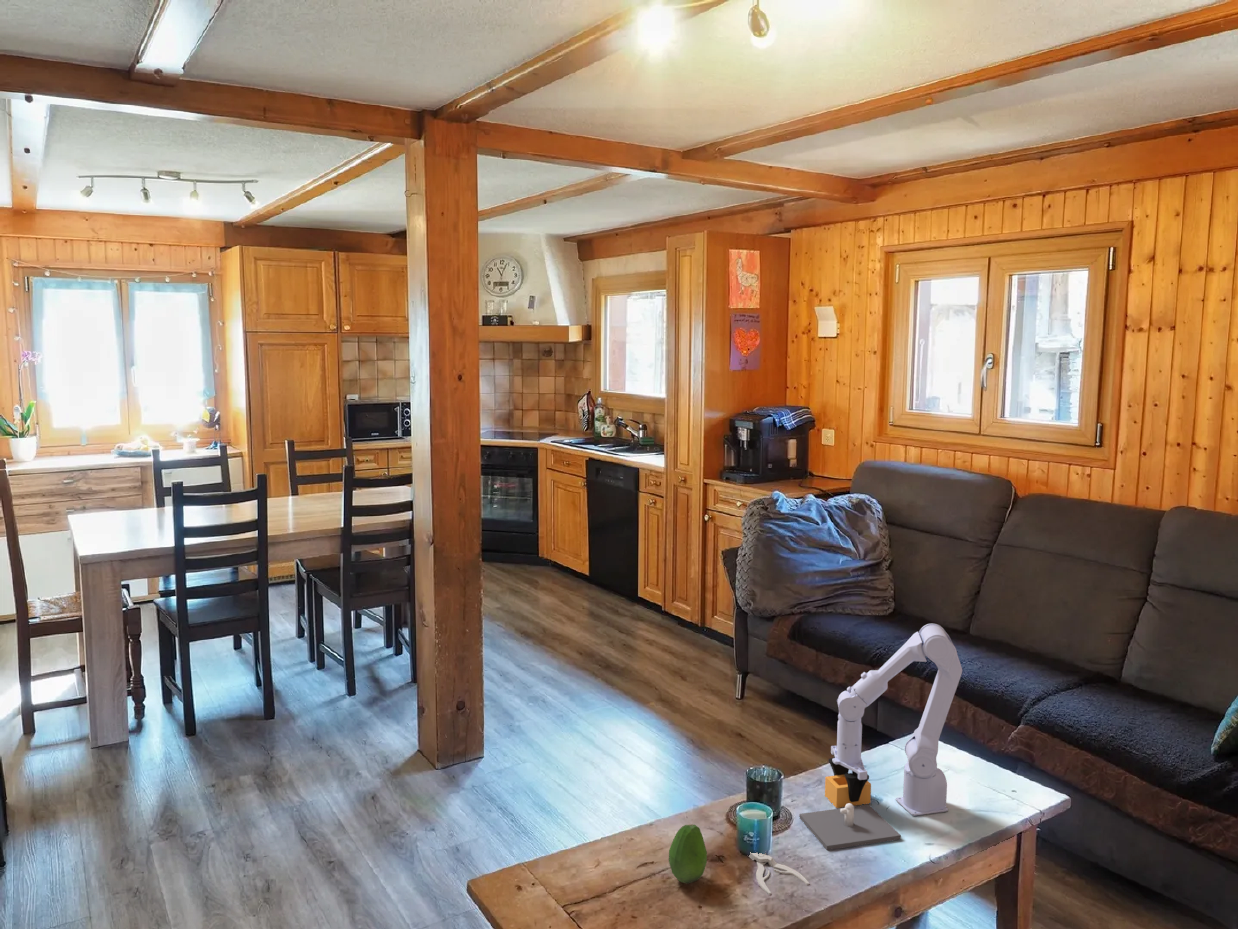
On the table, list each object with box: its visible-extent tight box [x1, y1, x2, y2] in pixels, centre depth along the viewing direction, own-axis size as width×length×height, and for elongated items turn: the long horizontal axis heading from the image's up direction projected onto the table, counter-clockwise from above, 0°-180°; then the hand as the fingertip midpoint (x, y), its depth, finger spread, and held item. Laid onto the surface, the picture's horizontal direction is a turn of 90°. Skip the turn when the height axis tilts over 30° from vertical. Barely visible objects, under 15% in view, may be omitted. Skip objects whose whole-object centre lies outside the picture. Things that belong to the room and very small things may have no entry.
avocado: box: [668, 823, 708, 884], centre depth 183 cm, size 8×8×12 cm
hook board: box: [799, 803, 902, 851], centre depth 203 cm, size 18×14×6 cm
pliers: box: [748, 852, 810, 896], centre depth 187 cm, size 10×2×15 cm
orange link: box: [824, 775, 872, 809], centre depth 216 cm, size 9×6×5 cm, turn 104°
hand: (847, 794), depth 216 cm, fingers closed on orange link, 6 cm apart
